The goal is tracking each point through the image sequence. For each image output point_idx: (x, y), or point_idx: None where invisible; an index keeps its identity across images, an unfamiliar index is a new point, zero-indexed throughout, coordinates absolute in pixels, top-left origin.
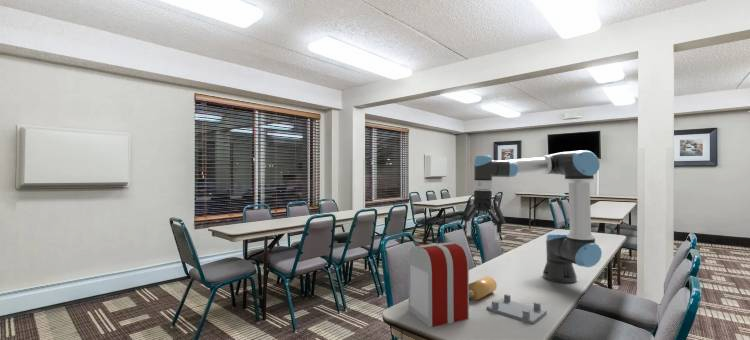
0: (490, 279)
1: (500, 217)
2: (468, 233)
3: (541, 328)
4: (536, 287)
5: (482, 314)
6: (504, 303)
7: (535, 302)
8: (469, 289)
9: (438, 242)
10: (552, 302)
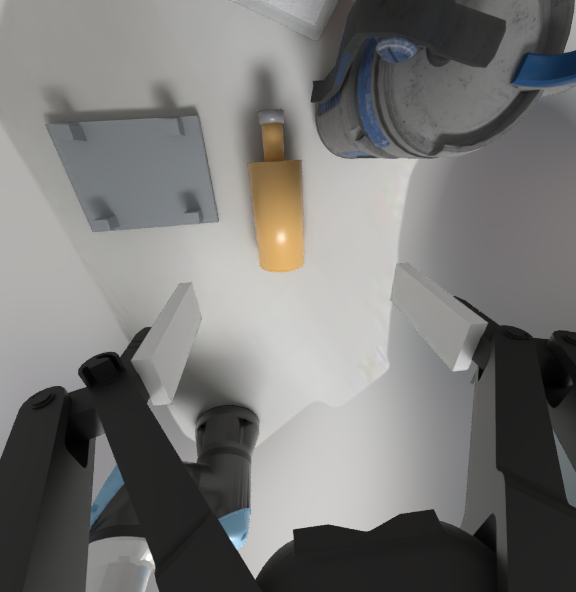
0: (270, 256)
1: (3, 471)
2: (403, 278)
3: (17, 113)
4: (225, 357)
5: (178, 60)
6: (187, 190)
7: (106, 226)
8: (289, 160)
9: (556, 55)
10: (143, 305)
